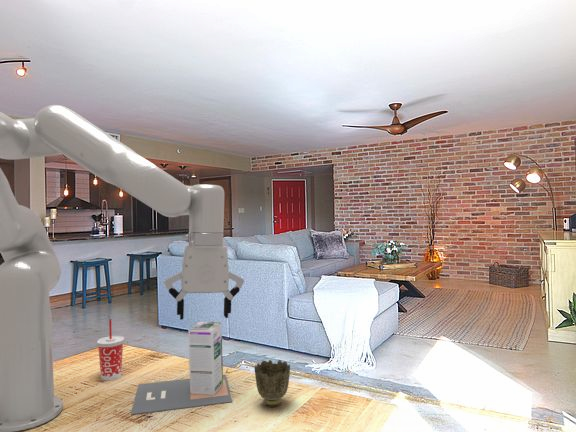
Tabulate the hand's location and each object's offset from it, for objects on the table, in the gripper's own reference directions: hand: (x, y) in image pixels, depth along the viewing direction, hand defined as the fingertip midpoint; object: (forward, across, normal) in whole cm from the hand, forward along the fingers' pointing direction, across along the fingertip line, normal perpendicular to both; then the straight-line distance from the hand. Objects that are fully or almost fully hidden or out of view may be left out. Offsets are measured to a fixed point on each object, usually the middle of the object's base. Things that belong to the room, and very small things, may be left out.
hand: (204, 317), depth 91 cm
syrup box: (+16, +1, 0) cm, 17 cm away
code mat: (+17, -4, 0) cm, 17 cm away
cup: (+16, +14, -10) cm, 24 cm away
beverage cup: (+18, -21, +14) cm, 31 cm away
